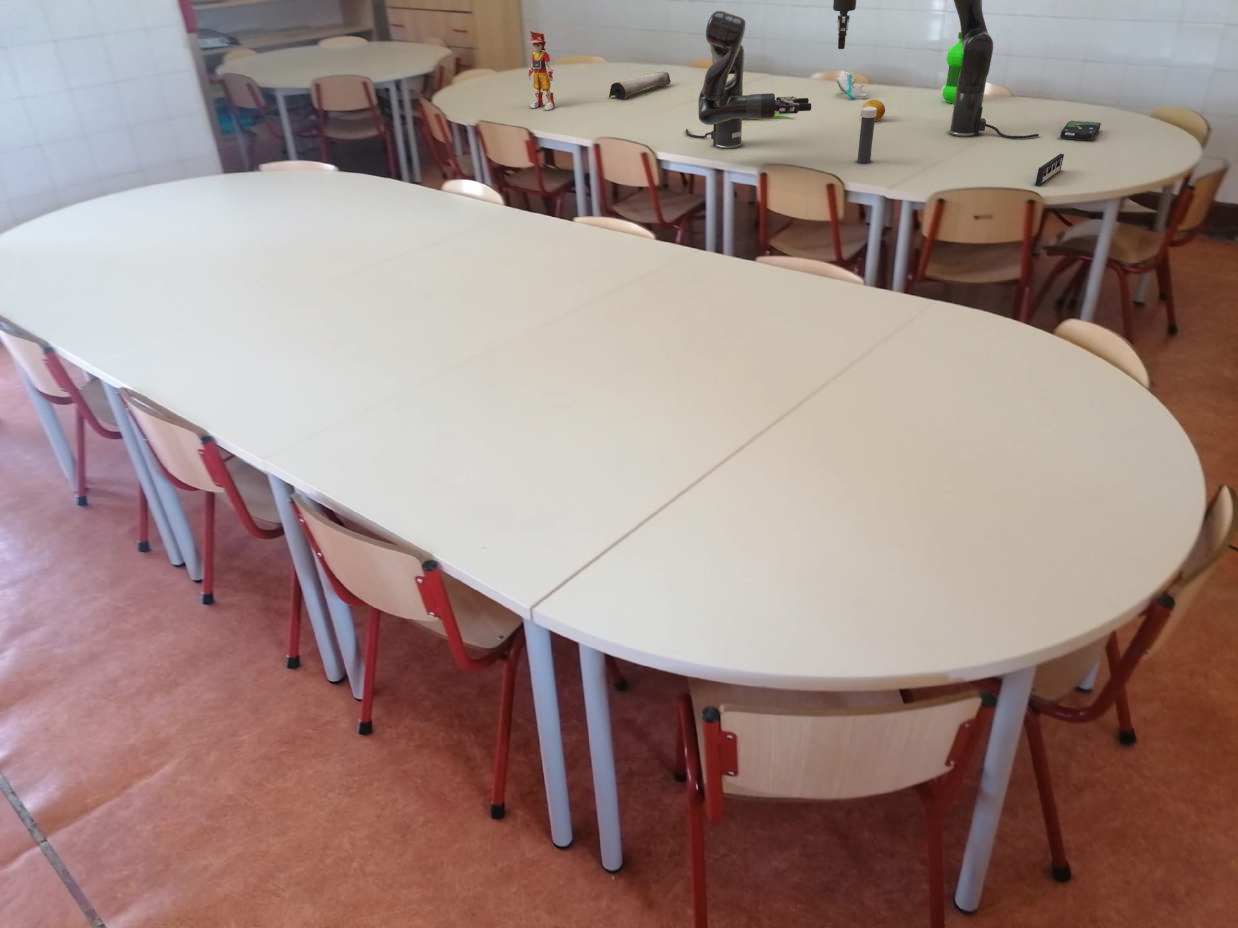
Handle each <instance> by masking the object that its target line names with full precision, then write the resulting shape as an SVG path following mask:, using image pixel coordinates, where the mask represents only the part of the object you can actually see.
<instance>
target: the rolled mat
mask: <svg viewBox="0 0 1238 928" xmlns="http://www.w3.org/2000/svg"><path fill="white" fill-rule="evenodd" d="M671 83H672V81H671V77H670V74H669V72H668V71H658V72H654V73H649V74H645V75H640V76H637V77H633V78H628V79H623V80H620V81H616V82H613V83H612V84H611V85H610V89H609V95H608V97H609V98H611V97H616V99H620V100H622V101H623V100H626V99H627V98H629V97H630V96H632V95H635V94H636V93H638V92H640V91H643V90H644V89H647V88H650V87H655V86H658V87H659V86H661V87H665V86H669V85H670V84H671Z"/></svg>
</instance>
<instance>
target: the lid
mask: <svg viewBox="0 0 1238 928" xmlns="http://www.w3.org/2000/svg"><path fill="white" fill-rule="evenodd" d="M862 107H863V106H862ZM862 107H861V110H860V117H861V118H862V117H864V118H873V117H876V115H877V108H875V107H863V108H862Z"/></svg>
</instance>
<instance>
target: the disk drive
mask: <svg viewBox="0 0 1238 928" xmlns="http://www.w3.org/2000/svg"><path fill="white" fill-rule="evenodd" d="M1101 125H1102V123H1101V122H1097V121H1096V122H1095V121H1079V120H1070V121H1068V122H1067V123H1066V124H1065V125H1064V127H1063V128H1062V129H1061V131H1060V136H1059V137H1060V139H1061V138H1062V139H1068V140H1077V141H1093V140H1094V138H1095V137H1096V136H1097V134H1098V132H1100V128H1101Z"/></svg>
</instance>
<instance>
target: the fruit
mask: <svg viewBox="0 0 1238 928" xmlns="http://www.w3.org/2000/svg"><path fill="white" fill-rule="evenodd" d="M863 107H875V108H877V115H876V117H875V122H876V121H879V120H881V119H882V118H883V117H884V115H885V114H886V106H885V104H884V103H883V102H882V101H881V100H878V99H871V100H868V101H866V102H865V103H863V105H862V106H861V109H862V108H863Z"/></svg>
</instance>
